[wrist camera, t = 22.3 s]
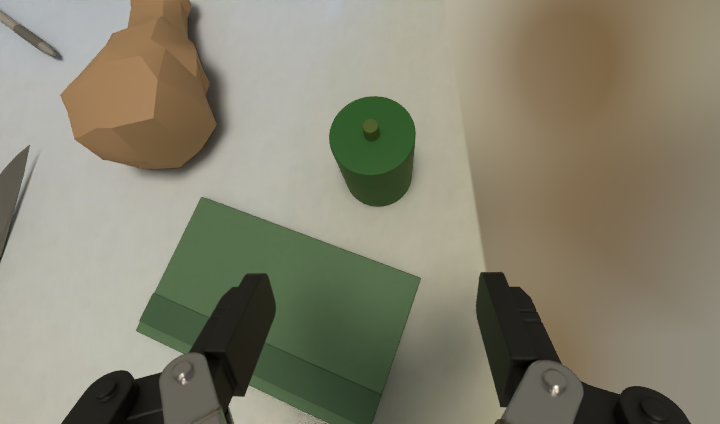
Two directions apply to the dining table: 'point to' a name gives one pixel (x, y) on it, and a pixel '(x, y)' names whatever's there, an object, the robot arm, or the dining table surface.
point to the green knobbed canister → (374, 149)
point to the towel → (290, 310)
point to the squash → (144, 92)
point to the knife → (10, 192)
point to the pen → (26, 34)
